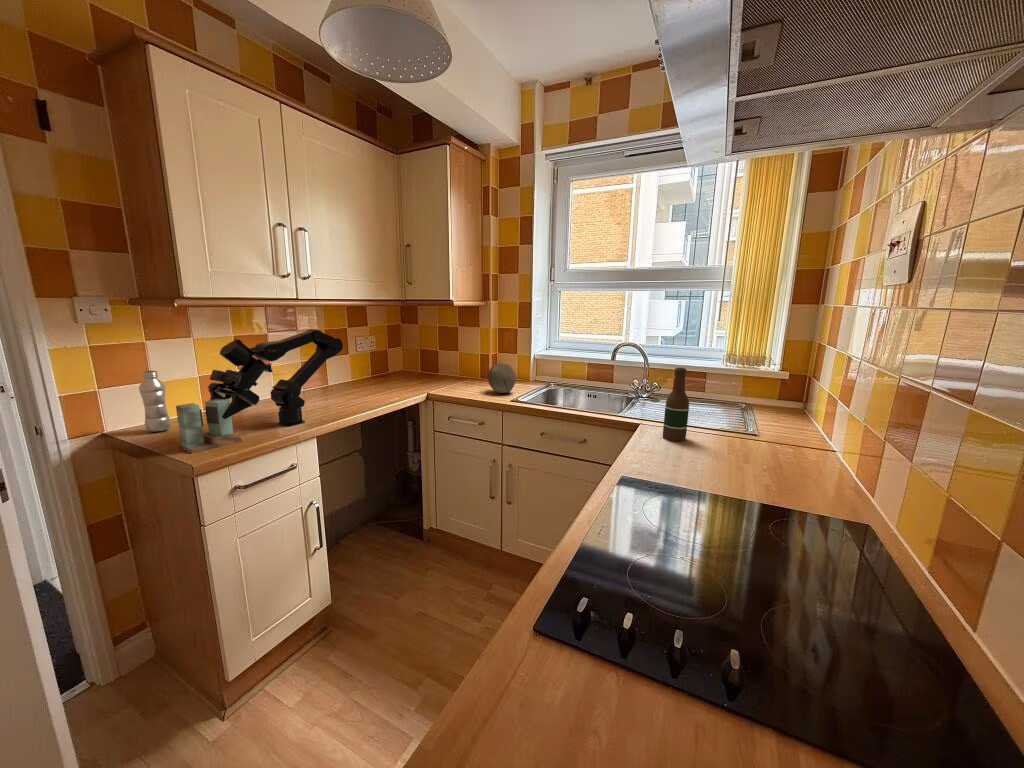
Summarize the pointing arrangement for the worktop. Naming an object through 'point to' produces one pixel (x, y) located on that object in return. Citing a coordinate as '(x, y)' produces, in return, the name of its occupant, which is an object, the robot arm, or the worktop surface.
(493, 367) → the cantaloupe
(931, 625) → the worktop surface
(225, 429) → the block
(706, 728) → the worktop surface
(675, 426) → the beer bottle
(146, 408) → the plastic bottle
